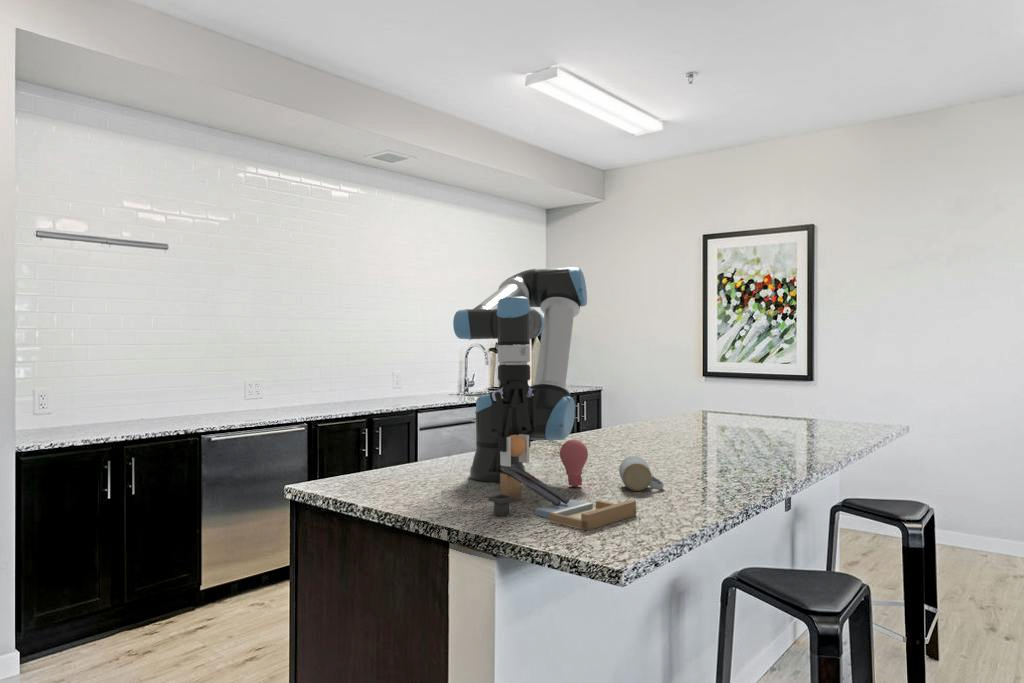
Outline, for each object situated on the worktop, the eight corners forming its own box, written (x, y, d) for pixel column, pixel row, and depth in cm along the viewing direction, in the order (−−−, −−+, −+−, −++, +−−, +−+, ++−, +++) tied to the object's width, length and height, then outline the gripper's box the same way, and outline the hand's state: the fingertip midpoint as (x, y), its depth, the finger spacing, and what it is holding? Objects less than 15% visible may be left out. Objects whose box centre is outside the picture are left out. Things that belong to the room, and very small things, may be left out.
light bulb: (555, 488, 170) (555, 440, 170) (566, 483, 176) (566, 437, 176) (582, 491, 166) (581, 442, 166) (592, 485, 172) (591, 438, 173)
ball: (499, 456, 156) (499, 435, 156) (515, 453, 160) (514, 432, 160) (515, 459, 153) (514, 437, 153) (530, 456, 156) (530, 434, 156)
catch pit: (549, 521, 138) (549, 506, 138) (598, 507, 149) (598, 494, 149) (587, 530, 131) (587, 515, 131) (636, 515, 142) (636, 501, 142)
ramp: (500, 500, 157) (499, 465, 157) (513, 497, 160) (513, 462, 160) (556, 513, 144) (556, 474, 144) (570, 509, 147) (569, 472, 147)
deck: (535, 514, 144) (534, 508, 144) (571, 504, 152) (571, 499, 152) (556, 519, 139) (556, 513, 139) (592, 509, 148) (592, 503, 148)
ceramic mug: (622, 492, 164) (622, 460, 164) (618, 485, 173) (619, 455, 173) (666, 493, 164) (666, 461, 164) (660, 486, 172) (661, 456, 172)
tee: (488, 514, 144) (488, 497, 144) (502, 511, 146) (501, 494, 146) (501, 518, 141) (501, 500, 141) (515, 514, 144) (514, 496, 144)
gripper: (496, 365, 147) (497, 471, 147) (552, 362, 160) (553, 460, 160) (473, 364, 153) (474, 467, 153) (529, 362, 166) (530, 457, 165)
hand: (515, 463), depth 156 cm, fingers open, 5 cm apart
